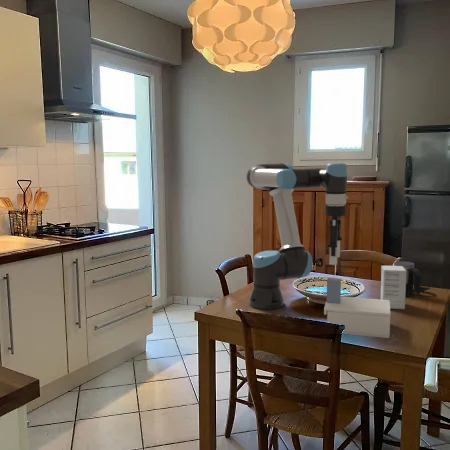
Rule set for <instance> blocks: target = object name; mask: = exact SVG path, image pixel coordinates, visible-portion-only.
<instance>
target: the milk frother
mask: <svg viewBox="0 0 450 450" xmlns="http://www.w3.org/2000/svg"><path fill="white" fill-rule="evenodd" d="M393 266H403V267H404V269H405V270H406V291H405V297H413V296H414V294H418V293H423V292H426V291H429V290H430V289H431V287H430V286H422V273H421V271H420V270H419V269H417V268H416V267H415V263H414V262H412V261H395V262H393Z"/></svg>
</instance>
